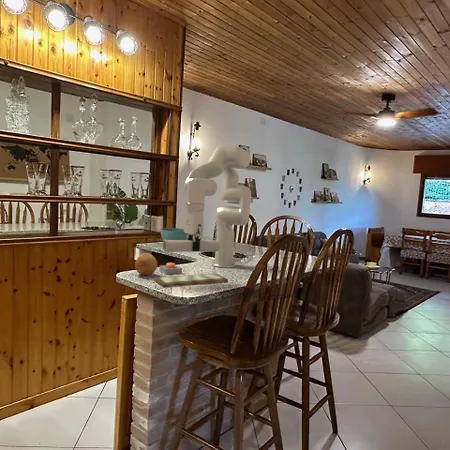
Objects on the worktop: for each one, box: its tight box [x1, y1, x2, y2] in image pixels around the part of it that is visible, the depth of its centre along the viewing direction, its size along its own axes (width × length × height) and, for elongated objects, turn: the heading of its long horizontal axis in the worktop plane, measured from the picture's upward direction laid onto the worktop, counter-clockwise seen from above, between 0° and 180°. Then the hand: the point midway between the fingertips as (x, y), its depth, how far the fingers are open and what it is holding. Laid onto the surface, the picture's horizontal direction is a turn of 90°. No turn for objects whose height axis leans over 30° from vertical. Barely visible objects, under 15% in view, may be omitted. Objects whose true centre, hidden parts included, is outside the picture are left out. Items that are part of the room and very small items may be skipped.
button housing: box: [159, 264, 183, 275], centre depth 178 cm, size 8×8×2 cm
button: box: [166, 262, 176, 268], centre depth 178 cm, size 4×4×3 cm
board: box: [153, 273, 229, 288], centre depth 163 cm, size 30×11×1 cm, turn 121°
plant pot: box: [160, 227, 187, 242], centre depth 248 cm, size 18×18×12 cm
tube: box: [162, 239, 220, 253], centre depth 161 cm, size 5×5×25 cm
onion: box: [134, 252, 158, 276], centre depth 168 cm, size 10×10×10 cm
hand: (192, 249), depth 162 cm, fingers closed on tube, 5 cm apart
